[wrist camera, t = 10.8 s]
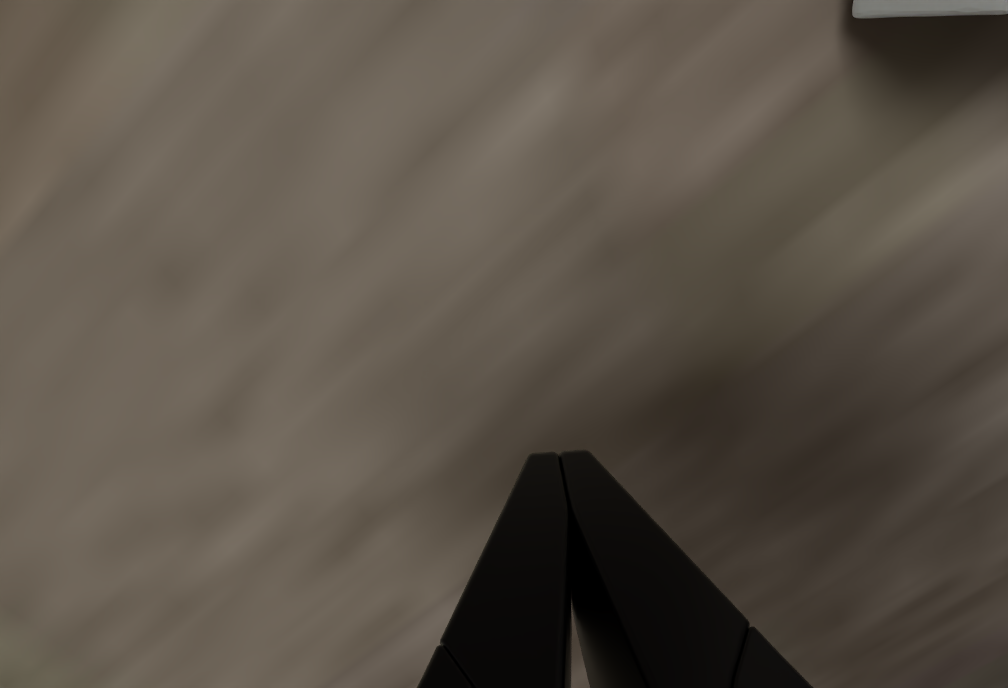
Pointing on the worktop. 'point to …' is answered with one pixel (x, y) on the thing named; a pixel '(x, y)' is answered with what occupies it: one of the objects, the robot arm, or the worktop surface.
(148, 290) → the worktop surface
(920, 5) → the coffee box
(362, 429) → the worktop surface
